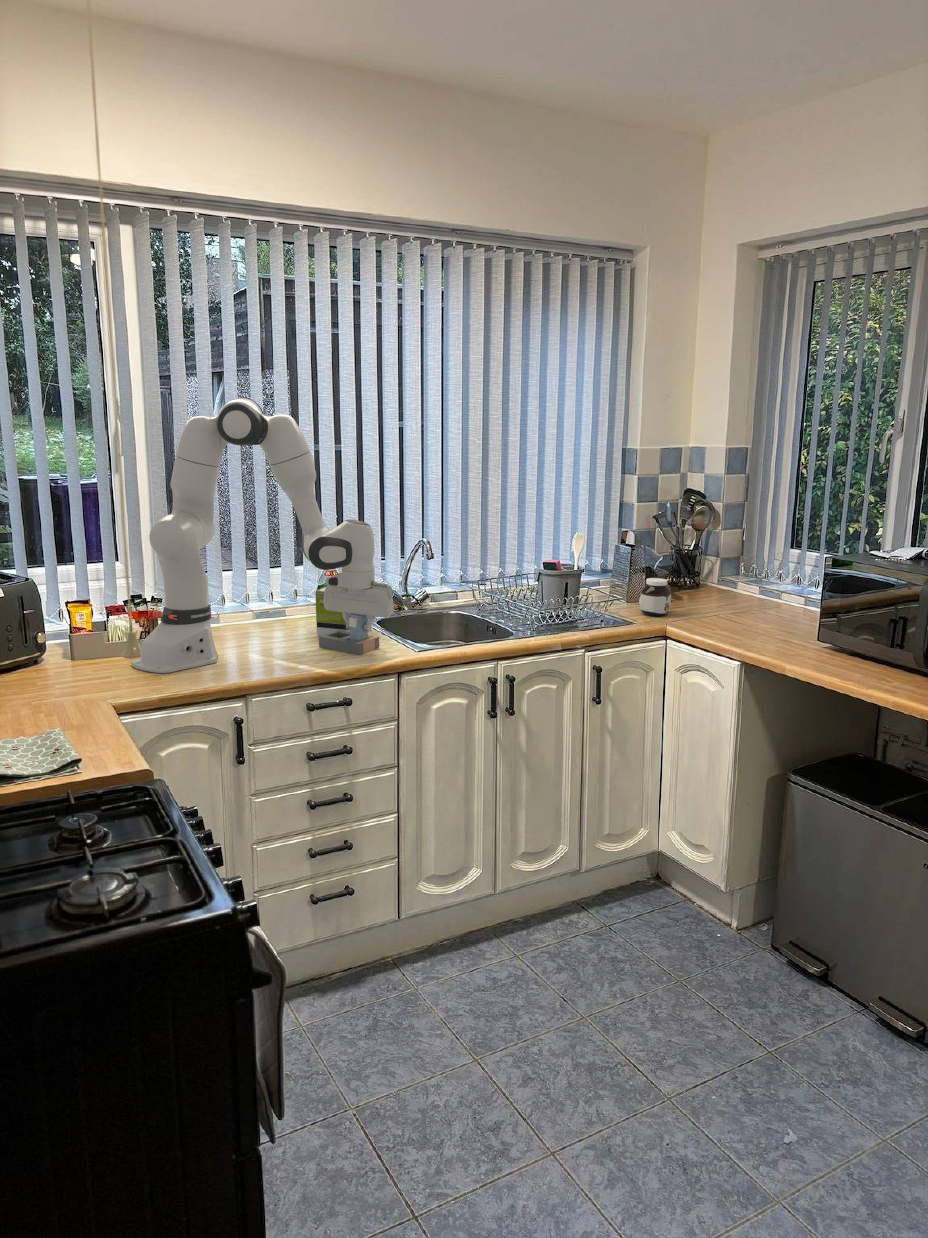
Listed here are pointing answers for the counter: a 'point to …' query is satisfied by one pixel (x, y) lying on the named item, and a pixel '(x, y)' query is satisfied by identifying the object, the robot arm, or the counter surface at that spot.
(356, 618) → the plug peg
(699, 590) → the counter surface
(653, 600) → the spread jar
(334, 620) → the tea box
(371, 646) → the socket block
